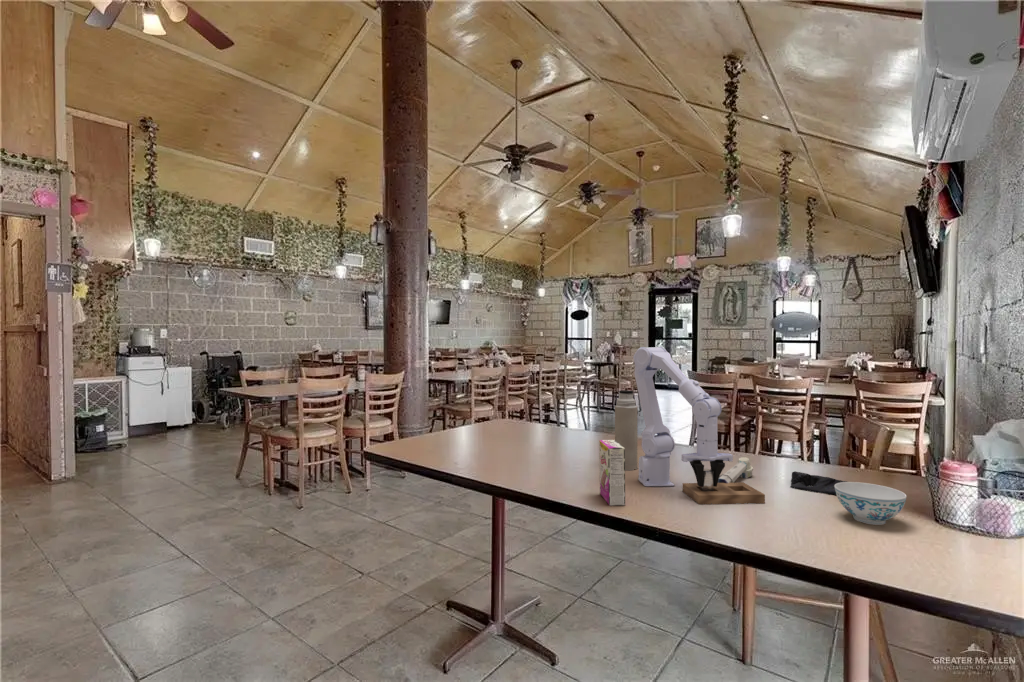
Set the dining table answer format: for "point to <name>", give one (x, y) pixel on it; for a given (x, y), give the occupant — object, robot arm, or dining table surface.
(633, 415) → the thermos bottle
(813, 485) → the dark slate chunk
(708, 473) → the steel pin
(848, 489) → the chinaware
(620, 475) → the candy bar box
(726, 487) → the wooden holder tray
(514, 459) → the dining table surface
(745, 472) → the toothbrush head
